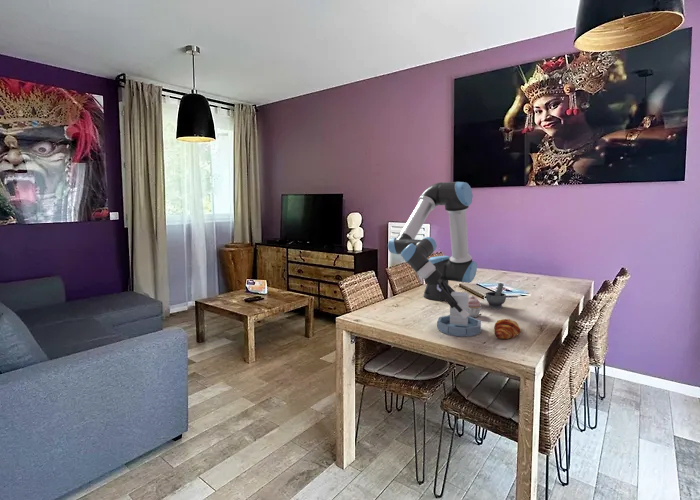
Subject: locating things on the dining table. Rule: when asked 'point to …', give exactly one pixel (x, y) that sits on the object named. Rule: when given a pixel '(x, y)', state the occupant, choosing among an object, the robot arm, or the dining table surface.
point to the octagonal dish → (459, 327)
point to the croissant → (506, 329)
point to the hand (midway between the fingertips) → (467, 313)
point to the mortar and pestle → (496, 297)
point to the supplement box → (463, 301)
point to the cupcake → (474, 306)
